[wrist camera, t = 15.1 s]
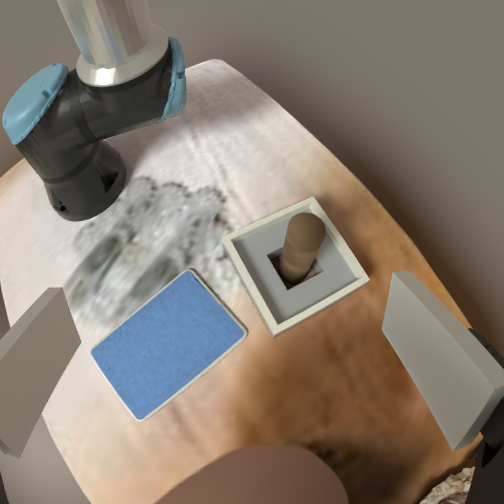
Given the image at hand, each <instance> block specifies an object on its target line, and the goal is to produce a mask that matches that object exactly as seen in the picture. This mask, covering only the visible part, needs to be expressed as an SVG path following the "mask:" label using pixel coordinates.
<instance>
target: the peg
mask: <svg viewBox="0 0 504 504" xmlns="http://www.w3.org/2000/svg"><path fill="white" fill-rule="evenodd" d="M325 235H326V227H325V224H324V222H323V221H322V220H321V219H320V218H319V217H318V216H317V215H315V214H312V213H308V212H302V213H298V214H296V215H294V216H293V217H292V218H291V219H290V221H289V223H288V227H287V232H286V237H285V241H284V246H283V250H282V255H281V259H280V264H279V269H278V271H279V275H280V277H281V278H282V279H283V280H284V281H285V282H287V283H289V284H297V283H300V282H302V281H303V280H304V279H305V277H306V275H307V273H308V271H309V269H310V267H311V265H312V263H313V261H314V259H315V257H316V255H317V253H318V251H319V248H320V246H321V244H322V242H323V240H324V238H325Z"/></svg>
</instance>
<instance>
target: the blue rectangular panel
mask: <svg viewBox="0 0 504 504" xmlns="http://www.w3.org/2000/svg"><path fill="white" fill-rule="evenodd" d="M247 335H248V333H247V330H246V329H245V328H244V327H243V326H242V325H241V324H240V323H239V322H238V321H237V319H236V318H235V317H234V316H233V315H232V314H231V313H230V312H229V311H228V310H227V308H226V307H225V306H224V305H223V304H222V303H221V302H220V301H219V299H218V298H217V297H216V296H215V295H214V294H213V293H212V292H211V291H210V289H209V288H208V287H207V286H206V285H205V284H204V283H203V281H202V280H201V279H200V278H199V277H198V276H197V274H196V273H195V272H194V271H193V270H191V269H187V270H185V271H183V272H182V273H181V274H180V275H178V276H177V277H176V278H175V279H173V280H172V281H171V282H170V283H168V284H167V285H166V286H165V287H164V288H162V289H161V290H160V291H159V292H158V293H156V294H155V295H154V296H153V297H151V298H150V299H149V300H148V301H147V302H145V303H144V304H143V305H142V306H140V307H139V308H138V309H137V310H136V311H134V312H133V313H132V314H131V315H130V316H128V317H127V318H126V319H125V320H124V321H122V322H121V323H120V324H119V325H118V326H116V327H115V328H114V329H113V330H112V331H111V332H109V333H108V334H107V335H106V336H105V337H104V338H102V339H101V340H100V341H99V342H98V343H97V344H95V345H94V346H93V347H92V348H91V349H90V356H91V358H92V359H93V361H94V362H95V364H96V366H97V367H98V368H99V370H100V371H101V373H102V374H103V376H104V377H105V379H106V380H107V382H108V383H109V385H110V386H111V387H112V389H113V390H114V392H115V393H116V394H117V396H118V397H119V399H120V400H121V401H122V403H123V404H124V405H125V407H126V408H127V409H128V411H129V412H130V413H131V415H132V416H133V417H134V418H135V420H137V421H139V422H144V421H146V420H147V419H148V418H150V417H151V416H152V415H154V414H155V413H156V412H157V411H159V410H160V409H161V408H163V407H164V406H165V405H166V404H168V403H169V402H170V401H172V400H173V399H174V398H175V397H177V396H178V395H179V394H180V393H182V392H183V391H184V390H185V389H187V388H188V387H189V386H190V385H191V384H193V383H194V382H195V381H196V380H198V379H199V378H200V377H201V376H202V375H204V374H205V373H206V372H207V371H208V370H210V369H211V368H212V367H213V366H215V365H216V364H217V363H218V362H219V361H221V360H222V359H223V358H224V357H226V355H227V354H229V353H230V352H231V351H233V350H234V349H235V348H236V347H237V346H238V345H239V344H240V343H241V342H243V341H244V340H245V339H246V337H247Z"/></svg>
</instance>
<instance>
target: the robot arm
mask: <svg viewBox="0 0 504 504" xmlns="http://www.w3.org/2000/svg"><path fill="white" fill-rule="evenodd" d="M57 2H58V4H59V7H60V9H61V11H62V13H63V16H64V18H65V20H66V22H67V24H68V26H69V28H70V31H71V33H72V35H73V37H74V39H75V41H76V43H77V45H78V47H79V49H80V51H81V55H80V57H79V59H78V62H77V67H76V69H74V70H72V71H69V70H68V67H67V66H65V65H64V64H62V63H57V64H52V65H50V66H48V67H46V68H44V69H42V70H41V71H39V72H38V73H36V74H35V75H34V76H32V77H31V78H30V79H29V80H28V81H27V82H25V83H24V84H23V85H22V86H21V87H20V89H19V90H18V91H17V92H16V93H15V94H14V96H13V97H12V98H11V100H10V101H9V103H8V105H7V107H6V108H5V111H4V114H3V120H2V122H3V127H4V129H5V131H6V133H7V134H8V136H9V138H10V139H11V142H12V144H14V145H15V146H16V147H17V149H18V150H19V151H20V153H21V154H22V155H23V156H24V158H25V159H26V160H27V162H28V163H29V164H30V165H31V167H32V168H33V169H34V170H35V172H36V173H37V174H38V175H39V176H40V178H41V179H42V180H43V182H44V185H45V188H46V191H47V194H48V197H49V200H50V203H51V205H52V207H53V208H54V210H55V211H56V212H57V213H58V214H59V215H60V216H61V217H62V218H64V219H66V220H69V221H83V220H87V219H90V218H92V217H94V216H96V215H98V214H99V213H101V212H102V211H104V210H105V209H106V208H107V207H108V206H109V205H111V203H112V202H113V201H114V200H115V199H116V198H117V196H118V195H119V193H120V191H121V189H122V187H123V185H124V182H125V177H126V169H125V165H124V163H123V161H122V159H121V157H120V155H119V154H118V152H117V151H116V150H115V149H113V148H112V147H111V146H110V145H108V144H107V143H106V142H105V141H103V139H106V138H109V137H112V136H115V135H118V134H121V133H124V132H127V131H131V130H134V129H137V128H140V127H144V126H147V125H151V124H154V123H160V122H161V121H163V120H165V119H168V118H171V117H174V116H177V115H178V114H180V113H181V112H182V111H183V109H184V107H185V103H186V77H185V65H184V58H183V52H182V48H181V45H180V42H179V41H178V39H177V38H174V37H172V38H170V37H167V34H166V32H165V31H164V30H163V29H162V28H161V27H159V26H157V25H155V24H152V23H151V19H150V14H149V10H148V5H147V0H57ZM382 331H383V333H384V334H385V336H386V337H387V339H388V341H389V342H390V344H391V345H392V347H393V348H394V350H395V352H396V353H397V355H398V356H399V358H400V360H401V361H402V363H403V365H404V366H405V368H406V370H407V371H408V373H409V375H410V376H411V378H412V380H413V381H414V383H415V385H416V386H417V388H418V390H419V391H420V393H421V395H422V396H423V398H424V400H425V402H426V403H427V405H428V407H429V409H430V410H431V412H432V414H433V416H434V418H435V419H436V421H437V423H438V425H439V427H440V428H441V430H442V432H443V434H444V436H445V438H446V439H447V441H448V443H449V445H450V447H451V449H452V451H455V450H457V449H460V448H462V447H464V446H466V445H468V444H470V443H472V441H473V440H474V439H475V437H476V436H477V435H478V433H479V432H481V434H482V435H483V437H484V438H483V439H482V440H481V442H480V443H479V444H478V446H477V447H476V448H475V449H474V450H473V452H472V453H471V455H470V457H469V459H472V458H473V457H474V456H475V454H476V453H477V452H478V455H477V458H476V464H475V468H474V472H473V476H472V480H471V484H470V488H469V491H468V494H467V498H466V501H465V504H504V358H503V357H502V356H501V355H500V354H498V353H497V351H496V349H495V348H494V347H493V346H491V344H490V343H489V342H488V341H487V340H486V339H485V338H484V337H483V335H481V334H479V333H478V332H476V331H475V330H473V329H471V328H469V329H467V328H466V327H465V326H464V325H463V324H462V323H461V322H460V320H459V319H458V318H457V317H456V316H455V315H454V314H453V313H452V312H451V311H450V310H449V309H448V308H447V307H446V306H445V305H444V304H443V303H442V302H441V301H440V300H439V299H438V298H437V297H436V296H435V295H434V294H433V293H432V292H431V291H430V290H429V289H428V288H427V287H426V286H425V285H424V284H423V283H422V282H421V281H420V280H418V279H417V278H416V277H415V276H414V275H413V274H412V273H411V272H410V271H409V270H407V271H396V272H392V279H391V284H390V290H389V296H388V301H387V306H386V311H385V316H384V321H383V325H382ZM80 344H81V340H80V337H79V335H78V332H77V329H76V327H75V324H74V321H73V318H72V315H71V313H70V310H69V307H68V304H67V301H66V297H65V294H64V291H63V288H48V289H47V290H46V291H45V292H44V293H43V294H42V295H41V296H40V297H39V298H38V299H37V300H36V301H35V302H34V303H33V304H32V306H31V307H30V308H29V309H28V310H27V311H26V312H25V313H24V314H23V315H22V316H21V317H20V319H19V320H18V321H17V322H16V323H15V324H14V325H13V326H12V327H11V329H10V330H9V331H8V332H7V333H6V334H5V336H4V337H3V338H2V339H1V340H0V449H1V450H2V452H3V453H5V454H7V455H9V456H12V457H14V458H17V459H20V456H21V454H22V452H23V450H24V448H25V445H26V443H27V441H28V439H29V437H30V435H31V433H32V431H33V429H34V426H35V424H36V422H37V421H38V418H39V417H40V414H41V413H42V411H43V409H44V407H45V405H46V403H47V401H48V400H49V398H50V396H51V394H52V392H53V390H54V388H55V387H56V385H57V383H58V381H59V379H60V378H61V376H62V374H63V372H64V371H65V369H66V367H67V365H68V364H69V362H70V360H71V359H72V357H73V355H74V354H75V352H76V350H77V349H78V347H79V345H80ZM0 504H9V502H8V499H7V496H6V492H5V489H4V485H3V481H2V477H1V473H0Z"/></svg>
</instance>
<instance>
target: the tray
mask: <svg viewBox="0 0 504 504" xmlns="http://www.w3.org/2000/svg"><path fill="white" fill-rule="evenodd" d="M302 212H308V213H312V214H315V215H317V216H318V217H319V218H320V219H321V220H322V221H323V222H324V224H325V227H326V235H325V238H324V240H323V242H322V244H321V246H320V248H319V251H318V253H317V255H316V257H315V259H314V261H313V263H312V266H313V267H314V269H315V271H316V272H317V274H318V275H316V276H314V277H312V278H310V279H308V280H307V281H305V282H303V283H301V284H299V285H297V286H295V287H293V288H291V289H290V290H288V291H287V289H286V287H285V285H284V284H283V282H282V280H281V279H280V277H279V275H278V274H277V272H276V270H275V268H274V267H273V265H272V263H271V262H270V260H271V259H273V258H275V257H277V256H279V255H281V254H282V250H283V246H284V241H285V237H286V232H287V227H288V223H289V221H290V219H291V218H292V217H293V216H294V215H296V214H298V213H302ZM222 240H223V245H224V250H225V252H226V254H227V256H228V258H229V259H230V261H231V263H232V265H233V267H234V269H235V271H236V273H237V274H238V276H239V278H240V280H241V282H242V284H243V286H244V287H245V289H246V291H247V293H248V295H249V297H250V298H251V300H252V302H253V304H254V306H255V308H256V309H257V311H258V313H259V315H260V317H261V319H262V320H263V322H264V324H265V326H266V328H267V329H268V331H269V333H270V335H271V337H272V339H273V338H275V337H277V336H279V335H281V334H283V333H285V332H286V331H288V330H290V329H292V328H294V327H296V326H297V325H299V324H301V323H303V322H305V321H306V320H308V319H310V318H312V317H313V316H315V315H317V314H319V313H321V312H322V311H324V310H326V309H327V308H329V307H331V306H333V305H334V304H336V303H338V302H339V301H341V300H343V299H344V298H346V297H348V296H349V295H351V294H353V293H354V292H356V291H358V290H359V289H361V288H362V287H363V286H364V285H365V284H366V283H367V282H368V281H369V280H370V279H369V278H368V276H367V274H366V273H365V271H364V270H363V268H362V267H361V265H360V264H359V262H358V260H357V259H356V257H355V256H354V254H353V253H352V251H351V250H350V248H349V247H348V245H347V244H346V242H345V241H344V239H343V238H342V237H341V235H340V234H339V232H338V231H337V229H336V228H335V226H334V225H333V223H332V222H331V221H330V219H329V218H328V216H327V215H326V213H325V212H324V211H323V209H322V208H321V206H320V205H319V204H318V202H317V201H316V199H315V198H314V197H313V196H312V197H310V198H308V199H305V200H303V201H301V202H299V203H296V204H294V205H292V206H290V207H287V208H285V209H283V210H281V211H279V212H276V213H274V214H272V215H270V216H267V217H265V218H263V219H261V220H259V221H256V222H254V223H252V224H250V225H248V226H245V227H243V228H241V229H239V230H237V231H235V232H232V233H230V234H228V235H226V236H224V237H222Z"/></svg>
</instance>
